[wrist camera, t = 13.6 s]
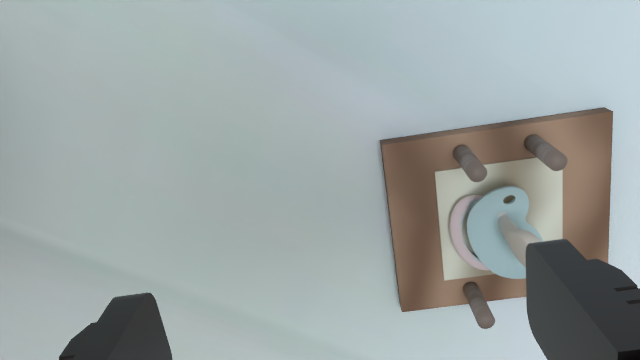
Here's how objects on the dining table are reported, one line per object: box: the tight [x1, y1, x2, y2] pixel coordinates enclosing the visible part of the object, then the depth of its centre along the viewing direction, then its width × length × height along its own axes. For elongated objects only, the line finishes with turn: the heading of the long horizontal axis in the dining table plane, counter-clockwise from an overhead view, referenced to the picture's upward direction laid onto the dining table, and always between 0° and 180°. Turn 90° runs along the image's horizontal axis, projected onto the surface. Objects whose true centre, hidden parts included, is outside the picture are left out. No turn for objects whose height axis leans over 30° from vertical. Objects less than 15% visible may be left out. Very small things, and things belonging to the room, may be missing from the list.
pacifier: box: [449, 186, 543, 279], centre depth 37 cm, size 7×6×6 cm
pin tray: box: [380, 108, 613, 329], centre depth 39 cm, size 16×14×6 cm
